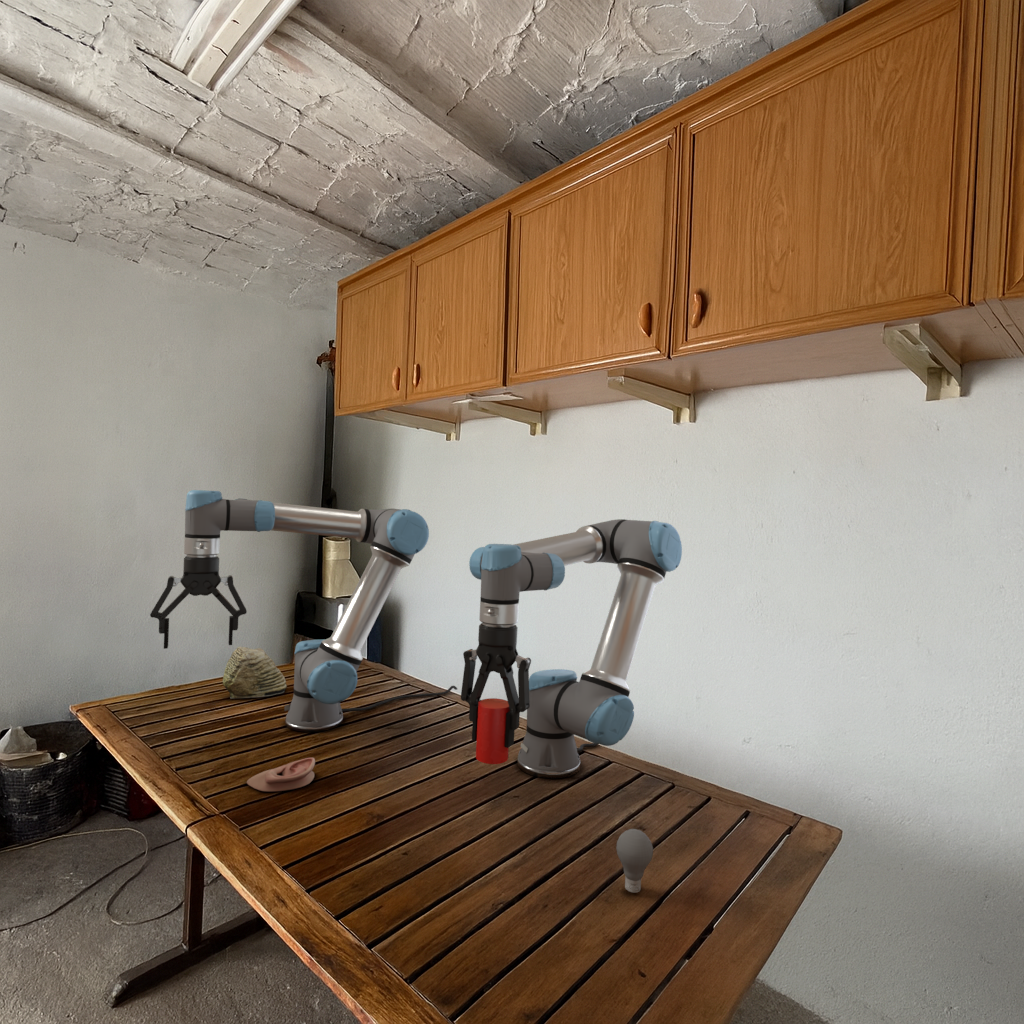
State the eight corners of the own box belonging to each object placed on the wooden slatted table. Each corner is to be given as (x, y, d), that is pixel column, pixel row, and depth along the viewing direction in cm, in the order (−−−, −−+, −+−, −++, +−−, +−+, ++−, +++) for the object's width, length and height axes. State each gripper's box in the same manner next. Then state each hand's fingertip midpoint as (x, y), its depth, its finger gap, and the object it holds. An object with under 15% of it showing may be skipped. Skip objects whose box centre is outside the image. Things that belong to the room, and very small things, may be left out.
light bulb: (610, 879, 108) (613, 822, 108) (644, 879, 109) (647, 822, 109) (619, 902, 102) (622, 840, 102) (655, 901, 103) (658, 840, 103)
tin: (487, 748, 128) (490, 696, 127) (514, 756, 124) (516, 702, 124) (469, 758, 122) (471, 703, 122) (496, 767, 119) (499, 710, 119)
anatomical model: (238, 769, 136) (269, 749, 147) (238, 787, 136) (269, 766, 147) (295, 777, 133) (322, 756, 144) (294, 796, 133) (321, 773, 144)
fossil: (218, 695, 195) (220, 647, 195) (278, 685, 208) (279, 640, 207) (228, 703, 189) (230, 653, 188) (289, 692, 201) (290, 645, 201)
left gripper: (138, 557, 140) (135, 652, 140) (259, 557, 151) (256, 646, 151) (142, 554, 147) (139, 645, 147) (258, 554, 157) (254, 639, 158)
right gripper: (445, 620, 123) (439, 738, 124) (537, 633, 116) (531, 758, 116) (463, 615, 130) (458, 726, 131) (551, 626, 123) (545, 745, 123)
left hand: (198, 645), depth 149 cm, fingers open, 13 cm apart
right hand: (492, 741), depth 123 cm, fingers closed on tin, 6 cm apart
